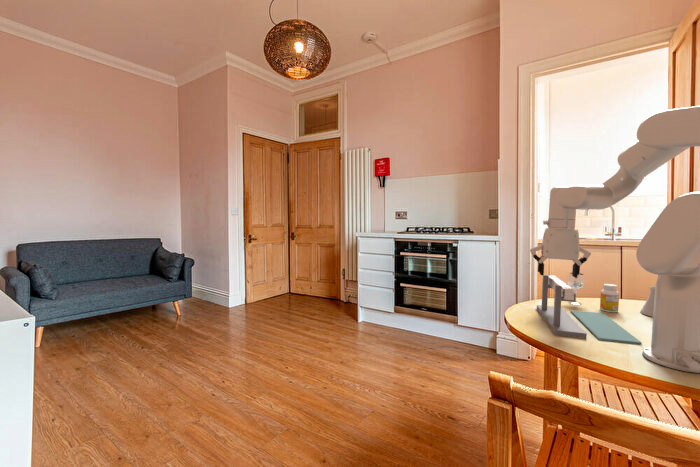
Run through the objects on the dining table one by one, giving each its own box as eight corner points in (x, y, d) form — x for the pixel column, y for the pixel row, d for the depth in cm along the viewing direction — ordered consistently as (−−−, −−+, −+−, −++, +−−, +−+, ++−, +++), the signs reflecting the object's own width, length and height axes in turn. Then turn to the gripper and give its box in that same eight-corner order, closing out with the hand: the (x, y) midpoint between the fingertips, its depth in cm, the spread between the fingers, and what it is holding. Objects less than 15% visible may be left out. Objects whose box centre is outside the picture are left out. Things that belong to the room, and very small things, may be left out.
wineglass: (584, 303, 133) (586, 273, 133) (582, 306, 129) (584, 275, 128) (568, 300, 137) (569, 271, 137) (565, 303, 133) (566, 273, 132)
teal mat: (641, 344, 92) (641, 342, 92) (598, 339, 96) (598, 337, 95) (603, 314, 118) (603, 313, 118) (570, 311, 122) (570, 310, 122)
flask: (673, 319, 114) (675, 290, 113) (649, 317, 116) (650, 289, 115) (658, 312, 121) (660, 285, 121) (635, 311, 123) (637, 284, 122)
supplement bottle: (599, 307, 127) (601, 282, 127) (617, 310, 124) (619, 284, 124) (600, 311, 123) (601, 285, 122) (618, 313, 120) (620, 287, 119)
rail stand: (586, 338, 97) (588, 291, 96) (554, 335, 99) (556, 288, 98) (561, 311, 123) (562, 273, 122) (536, 308, 126) (538, 272, 125)
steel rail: (573, 300, 99) (574, 290, 99) (564, 299, 100) (564, 289, 99) (554, 283, 121) (554, 275, 121) (546, 283, 122) (547, 275, 122)
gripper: (533, 224, 108) (530, 275, 110) (596, 226, 103) (592, 280, 104) (529, 223, 115) (526, 271, 117) (588, 224, 110) (584, 275, 111)
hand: (557, 275), depth 111 cm, fingers open, 9 cm apart
